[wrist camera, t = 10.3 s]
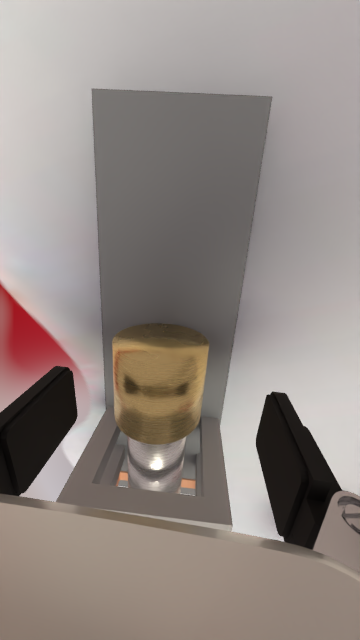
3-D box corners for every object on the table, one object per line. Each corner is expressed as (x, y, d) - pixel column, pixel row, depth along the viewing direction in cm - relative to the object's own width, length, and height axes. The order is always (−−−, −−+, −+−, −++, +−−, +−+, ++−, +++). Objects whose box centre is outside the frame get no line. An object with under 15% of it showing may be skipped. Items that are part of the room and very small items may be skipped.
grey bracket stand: (99, 100, 13) (-55, -131, 5) (266, 107, 13) (387, -130, 5) (112, 474, 23) (67, 599, 15) (208, 485, 22) (214, 620, 14)
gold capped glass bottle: (128, 320, 16) (95, 357, 11) (206, 327, 16) (212, 368, 10) (129, 488, 21) (107, 567, 16) (187, 495, 21) (184, 578, 16)
